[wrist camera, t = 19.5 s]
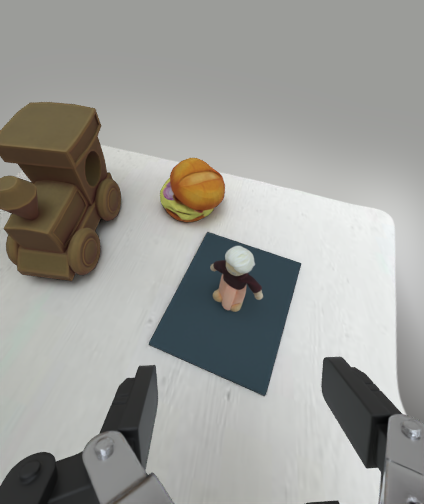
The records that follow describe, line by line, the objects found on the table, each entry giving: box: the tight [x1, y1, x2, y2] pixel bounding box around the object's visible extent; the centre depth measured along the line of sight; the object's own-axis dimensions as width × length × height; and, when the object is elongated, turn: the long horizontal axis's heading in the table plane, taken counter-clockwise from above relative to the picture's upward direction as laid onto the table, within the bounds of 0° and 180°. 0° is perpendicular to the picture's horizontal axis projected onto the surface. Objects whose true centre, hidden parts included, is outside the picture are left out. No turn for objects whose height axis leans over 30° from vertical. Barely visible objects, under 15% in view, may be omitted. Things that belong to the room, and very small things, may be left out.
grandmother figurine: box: [210, 246, 263, 312], centre depth 34 cm, size 8×4×13 cm, turn 65°
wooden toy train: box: [0, 102, 121, 281], centre depth 40 cm, size 20×11×17 cm, turn 172°
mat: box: [149, 232, 301, 396], centre depth 40 cm, size 16×20×1 cm
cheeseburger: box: [160, 158, 225, 222], centre depth 47 cm, size 10×11×10 cm
